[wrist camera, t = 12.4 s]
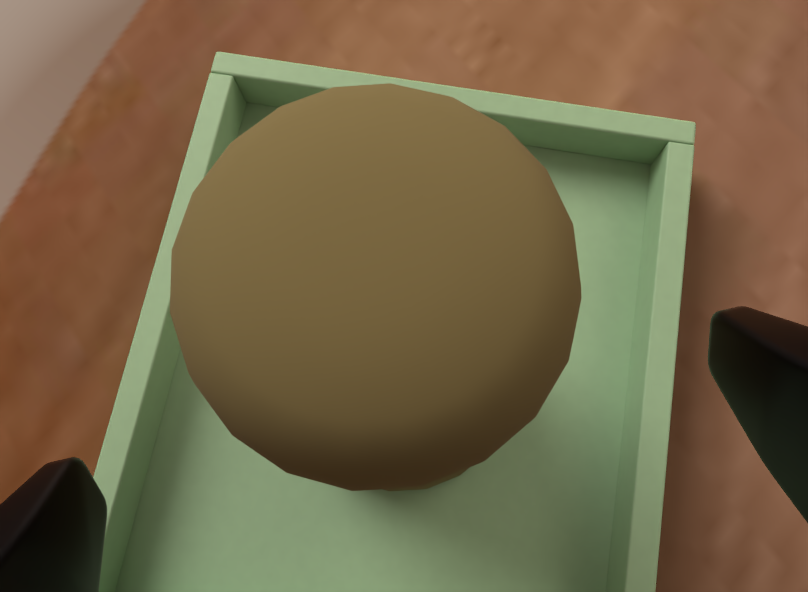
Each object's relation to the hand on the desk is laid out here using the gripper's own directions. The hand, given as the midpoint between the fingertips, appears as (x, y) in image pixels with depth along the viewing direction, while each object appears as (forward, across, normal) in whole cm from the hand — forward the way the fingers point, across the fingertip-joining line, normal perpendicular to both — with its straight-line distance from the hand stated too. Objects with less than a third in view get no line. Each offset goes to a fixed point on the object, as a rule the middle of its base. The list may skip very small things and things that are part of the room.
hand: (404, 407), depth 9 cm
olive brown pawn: (+7, 0, +5) cm, 9 cm away
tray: (+8, 0, +5) cm, 9 cm away
